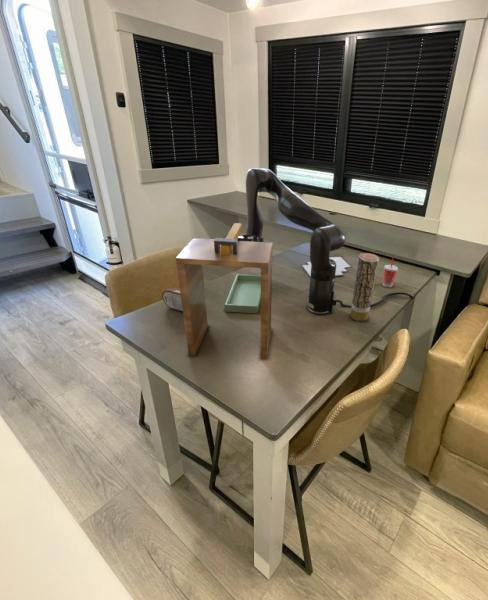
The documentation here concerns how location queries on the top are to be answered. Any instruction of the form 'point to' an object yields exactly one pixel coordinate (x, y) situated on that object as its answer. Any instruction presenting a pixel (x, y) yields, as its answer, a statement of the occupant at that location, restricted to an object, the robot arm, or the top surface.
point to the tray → (244, 294)
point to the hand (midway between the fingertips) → (242, 237)
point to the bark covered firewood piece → (364, 286)
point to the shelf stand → (210, 254)
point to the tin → (172, 298)
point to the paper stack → (339, 266)
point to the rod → (232, 234)
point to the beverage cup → (389, 274)
